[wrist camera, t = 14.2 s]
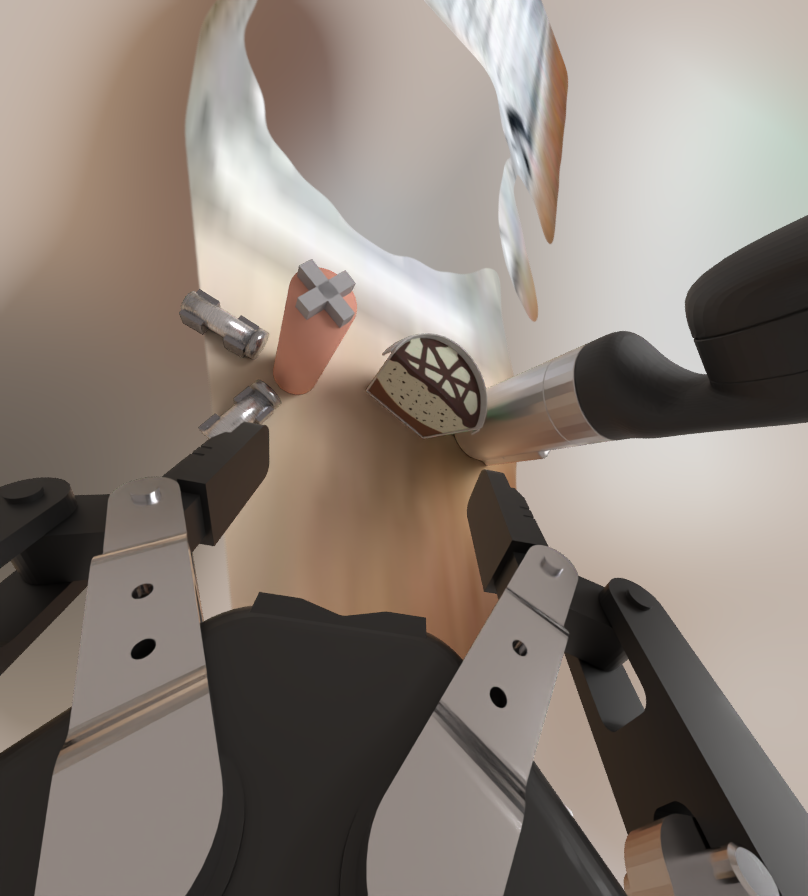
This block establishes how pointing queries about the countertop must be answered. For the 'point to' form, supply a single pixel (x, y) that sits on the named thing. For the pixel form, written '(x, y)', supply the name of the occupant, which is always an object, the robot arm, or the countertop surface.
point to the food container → (431, 386)
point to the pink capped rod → (312, 325)
